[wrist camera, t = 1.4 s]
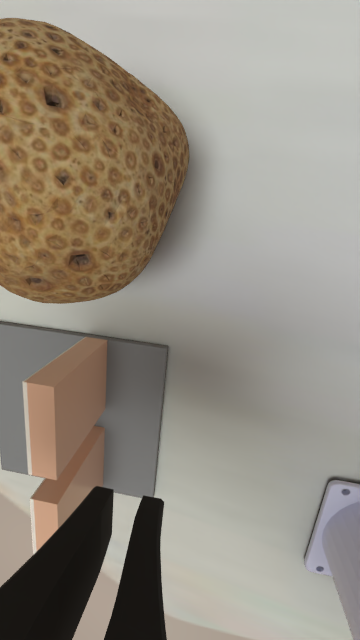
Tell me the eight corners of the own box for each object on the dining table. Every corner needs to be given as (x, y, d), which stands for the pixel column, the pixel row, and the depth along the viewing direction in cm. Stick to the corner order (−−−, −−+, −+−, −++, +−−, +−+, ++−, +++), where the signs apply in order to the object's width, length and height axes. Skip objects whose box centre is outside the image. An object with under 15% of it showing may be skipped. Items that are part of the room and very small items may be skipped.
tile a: (107, 340, 18) (53, 387, 12) (105, 409, 19) (56, 480, 14) (84, 336, 18) (21, 381, 12) (84, 405, 19) (27, 474, 14)
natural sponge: (14, 224, 17) (-242, 204, 8) (79, 70, 15) (-189, -252, 5) (139, 308, 18) (42, 390, 8) (225, 174, 15) (232, 57, 5)
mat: (168, 345, 18) (166, 348, 17) (154, 494, 21) (152, 500, 21) (-7, 320, 19) (-13, 322, 19) (6, 464, 23) (1, 469, 22)
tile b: (104, 427, 20) (57, 504, 14) (103, 484, 21) (59, 575, 15) (84, 424, 20) (29, 498, 14) (84, 480, 21) (33, 569, 16)
